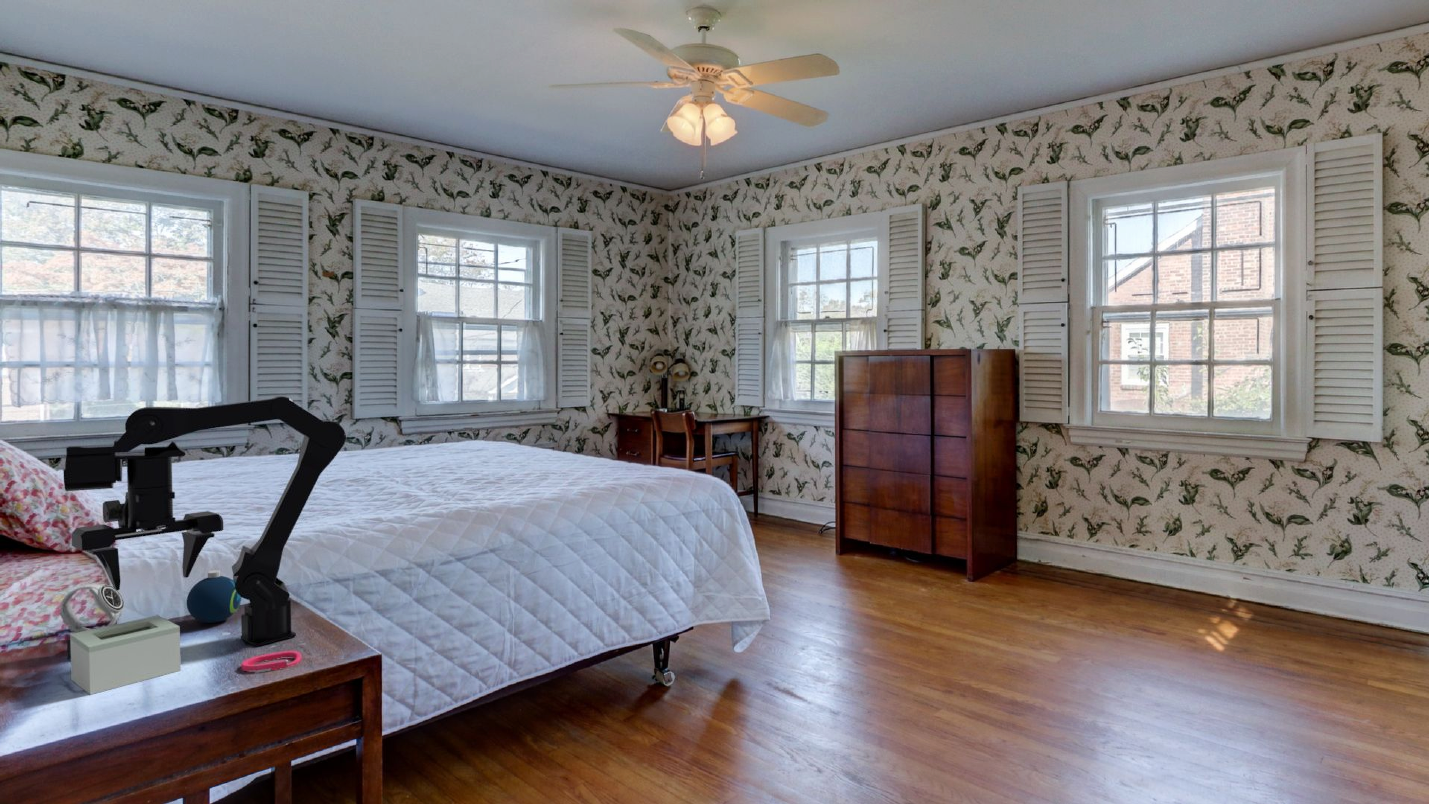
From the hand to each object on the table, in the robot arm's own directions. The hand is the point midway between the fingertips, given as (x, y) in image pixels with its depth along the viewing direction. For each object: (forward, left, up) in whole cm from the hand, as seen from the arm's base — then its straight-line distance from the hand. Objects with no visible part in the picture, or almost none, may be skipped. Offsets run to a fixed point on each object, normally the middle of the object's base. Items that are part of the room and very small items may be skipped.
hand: (152, 583), depth 121 cm
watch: (+5, -11, -12) cm, 17 cm away
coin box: (+5, +5, -12) cm, 14 cm away
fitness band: (-10, +18, -13) cm, 24 cm away
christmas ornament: (-13, -12, -12) cm, 21 cm away
